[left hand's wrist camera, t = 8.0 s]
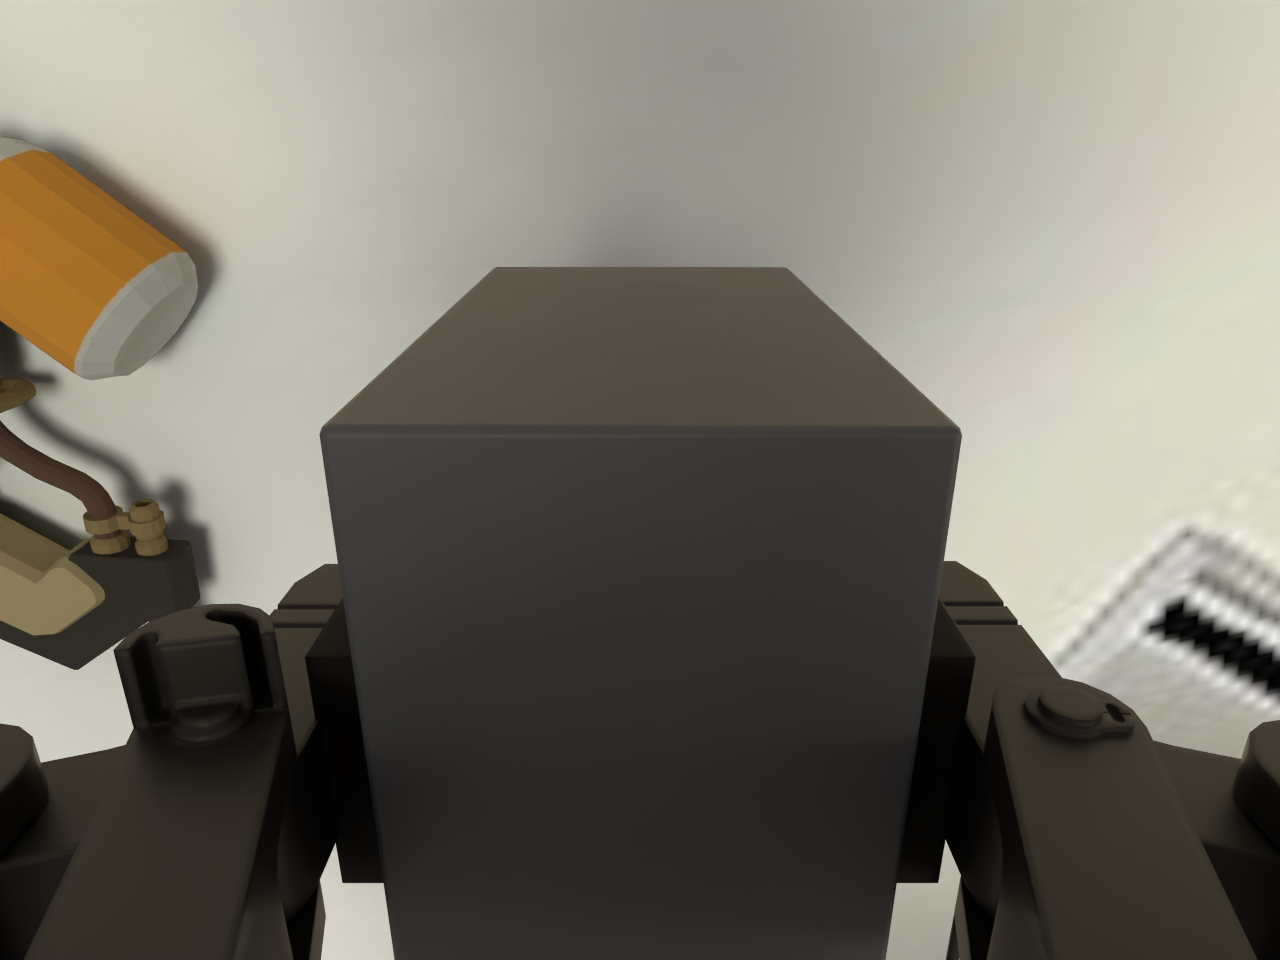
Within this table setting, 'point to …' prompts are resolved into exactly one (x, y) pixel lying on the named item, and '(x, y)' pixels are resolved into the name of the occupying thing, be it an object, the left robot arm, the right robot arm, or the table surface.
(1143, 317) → the table surface
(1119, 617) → the table surface
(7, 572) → the spray gun
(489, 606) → the bar
